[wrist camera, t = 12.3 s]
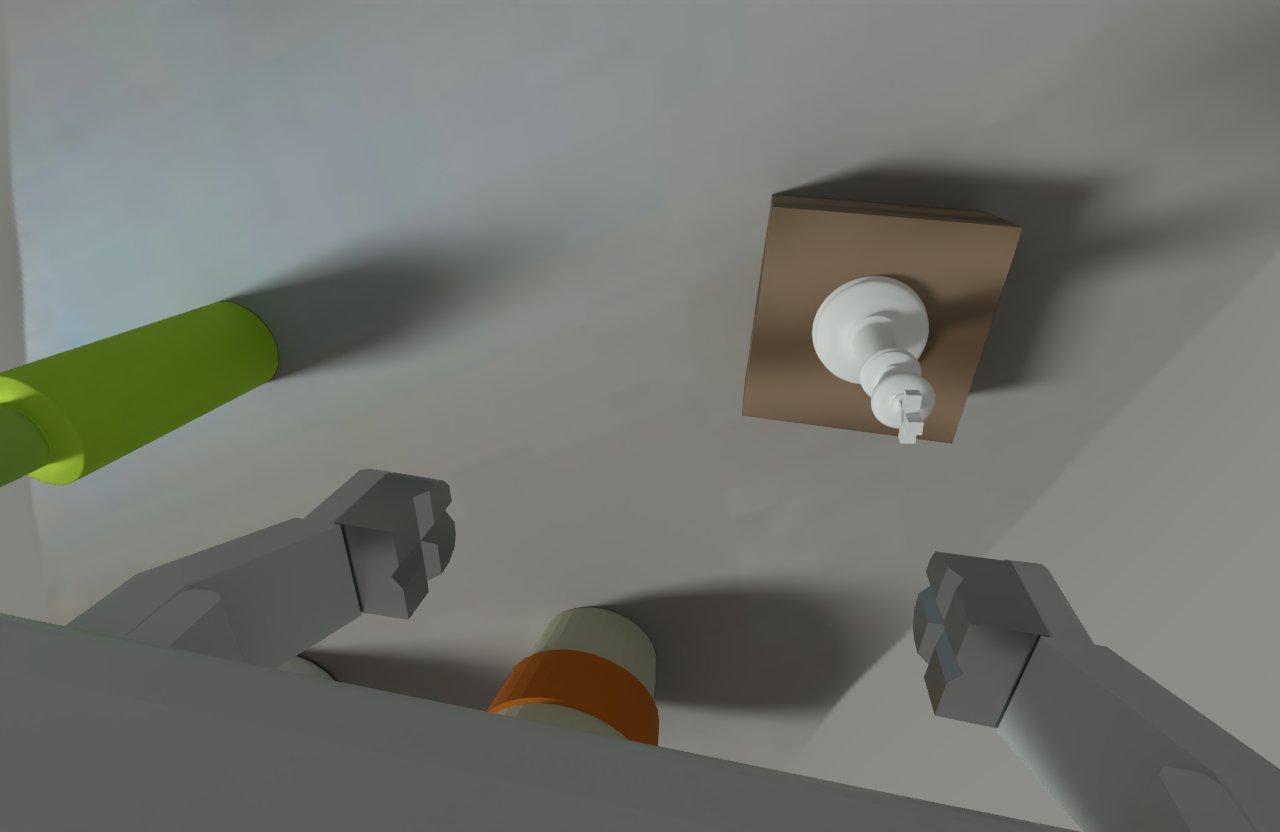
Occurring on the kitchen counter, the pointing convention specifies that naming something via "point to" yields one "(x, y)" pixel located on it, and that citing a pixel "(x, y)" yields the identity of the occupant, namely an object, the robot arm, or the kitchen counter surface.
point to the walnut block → (860, 247)
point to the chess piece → (878, 348)
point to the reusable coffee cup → (587, 678)
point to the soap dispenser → (127, 391)
